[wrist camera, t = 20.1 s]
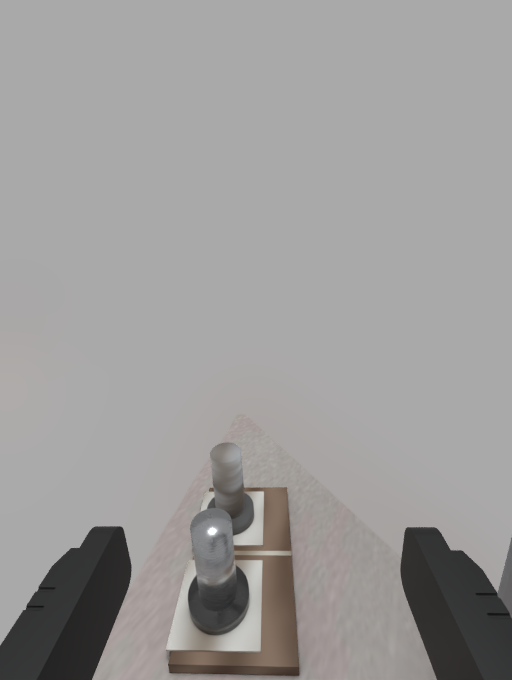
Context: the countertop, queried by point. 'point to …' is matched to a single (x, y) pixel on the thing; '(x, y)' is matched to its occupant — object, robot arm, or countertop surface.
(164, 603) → the countertop surface
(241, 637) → the board
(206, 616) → the pin
